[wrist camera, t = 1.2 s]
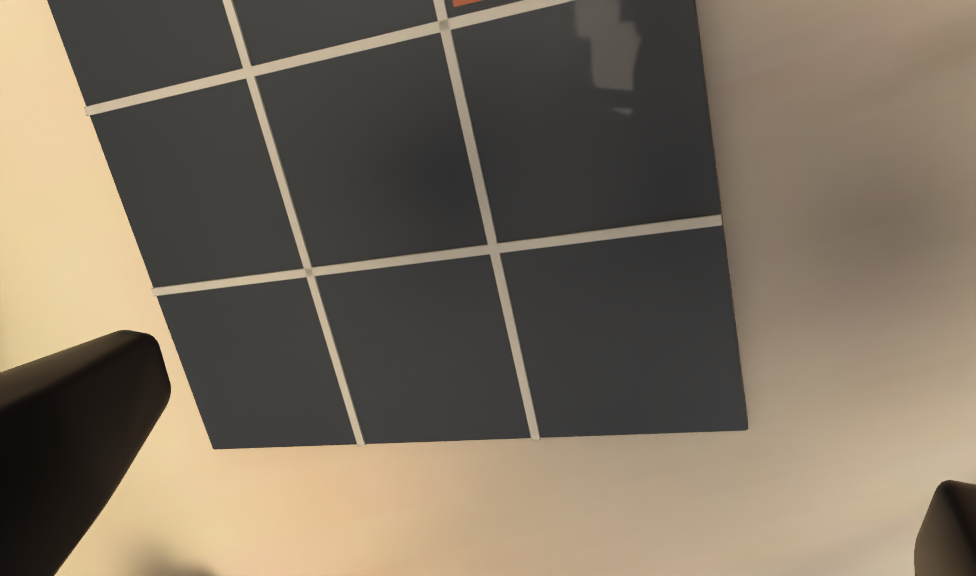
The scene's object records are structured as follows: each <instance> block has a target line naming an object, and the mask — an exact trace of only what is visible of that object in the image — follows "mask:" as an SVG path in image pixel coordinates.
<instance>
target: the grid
mask: <svg viewBox="0 0 976 576" xmlns="http://www.w3.org/2000/svg"><path fill="white" fill-rule="evenodd" d="M47 1H48V4H49V6H50V9H51V12H52V14H53V17H54V20H55V23H56V25H57V28H58V31H59V33H60V36H61V39H62V41H63V44H64V47H65V50H66V52H67V55H68V58H69V60H70V63H71V66H72V68H73V71H74V74H75V77H76V79H77V82H78V85H79V87H80V90H81V93H82V96H83V98H84V101H85V104H86V106H87V107H84V109H85V112H86V115H87V116H90V117H91V120H92V123H93V125H94V128H95V131H96V133H97V136H98V139H99V141H100V144H101V147H102V150H103V152H104V155H105V158H106V160H107V163H108V166H109V169H110V171H111V174H112V177H113V179H114V182H115V185H116V187H117V190H118V193H119V196H120V198H121V201H122V204H123V206H124V209H125V212H126V214H127V217H128V220H129V223H130V225H131V228H132V231H133V233H134V236H135V239H136V242H137V244H138V247H139V250H140V252H141V255H142V258H143V260H144V263H145V266H146V269H147V271H148V274H149V277H150V279H151V282H152V285H153V287H154V288H151V290H152V293H153V295H154V296H157V298H158V301H159V304H160V306H161V309H162V312H163V315H164V317H165V320H166V323H167V325H168V328H169V331H170V333H171V336H172V339H173V342H174V344H175V347H176V350H177V352H178V355H179V358H180V360H181V363H182V366H183V369H184V371H185V374H186V377H187V379H188V382H189V385H190V388H191V390H192V393H193V396H194V398H195V401H196V404H197V406H198V409H199V412H200V415H201V417H202V420H203V423H204V425H205V428H206V431H207V433H208V436H209V439H210V442H211V444H212V447H213V449H236V448H264V447H292V446H321V445H349V444H357V445H358V446H365V445H366V444H377V443H405V442H433V441H461V440H489V439H517V438H531V439H532V440H540V439H541V438H545V437H573V436H602V435H630V434H658V433H686V432H714V431H742V430H748V419H747V411H746V403H745V395H744V387H743V379H742V371H741V363H740V355H739V347H738V339H737V331H736V322H735V314H734V306H733V298H732V290H731V282H730V274H729V266H728V258H727V250H726V242H725V234H724V226H723V218H722V210H721V202H720V194H719V186H718V178H717V170H716V162H715V154H714V146H713V138H712V130H711V122H710V114H709V106H708V98H707V90H706V82H705V74H704V66H703V58H702V50H701V42H700V34H699V26H698V18H697V10H696V2H695V0H47Z"/></svg>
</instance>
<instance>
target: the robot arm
mask: <svg viewBox="0 0 976 576" xmlns="http://www.w3.org/2000/svg"><path fill="white" fill-rule="evenodd" d="M170 394H171V385H170V381H169V377H168V374H167V370H166V367H165V364H164V360H163V357H162V353H161V350H160V347H159V344H158V342H157V340H156V339H155V338H154V337H153V336H151V335H150V334H146V333H141V332H135V331H130V330H120V331H116V332H114V333H111V334H108V335H105V336H102V337H99V338H97V339H94V340H91V341H88V342H85V343H83V344H80V345H77V346H74V347H71V348H69V349H66V350H63V351H60V352H57V353H54V354H52V355H49V356H46V357H43V358H40V359H38V360H35V361H32V362H29V363H26V364H23V365H21V366H18V367H15V368H12V369H9V370H7V371H4V372H1V373H0V576H54V575H55V574H56V572H57V571H58V570H59V568H60V567H61V566H62V564H63V563H64V562H65V560H66V559H67V558H68V556H69V555H70V553H71V552H72V551H73V549H74V548H75V547H76V545H77V544H78V543H79V541H80V540H81V539H82V537H83V536H84V535H85V533H86V532H87V531H88V529H89V528H90V526H91V525H92V524H93V522H94V521H95V520H96V518H97V517H98V515H99V514H100V513H101V511H102V510H103V508H104V507H105V506H106V504H107V503H108V501H109V499H110V498H111V496H112V495H113V493H114V492H115V490H116V488H117V487H118V485H119V484H120V482H121V480H122V479H123V477H124V475H125V474H126V472H127V470H128V469H129V467H130V465H131V464H132V462H133V460H134V459H135V457H136V455H137V454H138V452H139V451H140V449H141V447H142V446H143V444H144V442H145V441H146V439H147V437H148V436H149V434H150V432H151V431H152V429H153V427H154V426H155V424H156V422H157V421H158V419H159V417H160V416H161V414H162V412H163V411H164V409H165V408H166V406H167V404H168V401H169V398H170ZM914 566H915V576H976V485H975V484H970V483H964V482H959V481H953V480H947V481H944V482H941V484H940V485H939V486H938V487H937V489H936V491H935V493H934V495H933V498H932V500H931V503H930V505H929V508H928V510H927V513H926V515H925V518H924V520H923V523H922V525H921V528H920V530H919V533H918V535H917V539H916V543H915V550H914Z"/></svg>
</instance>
